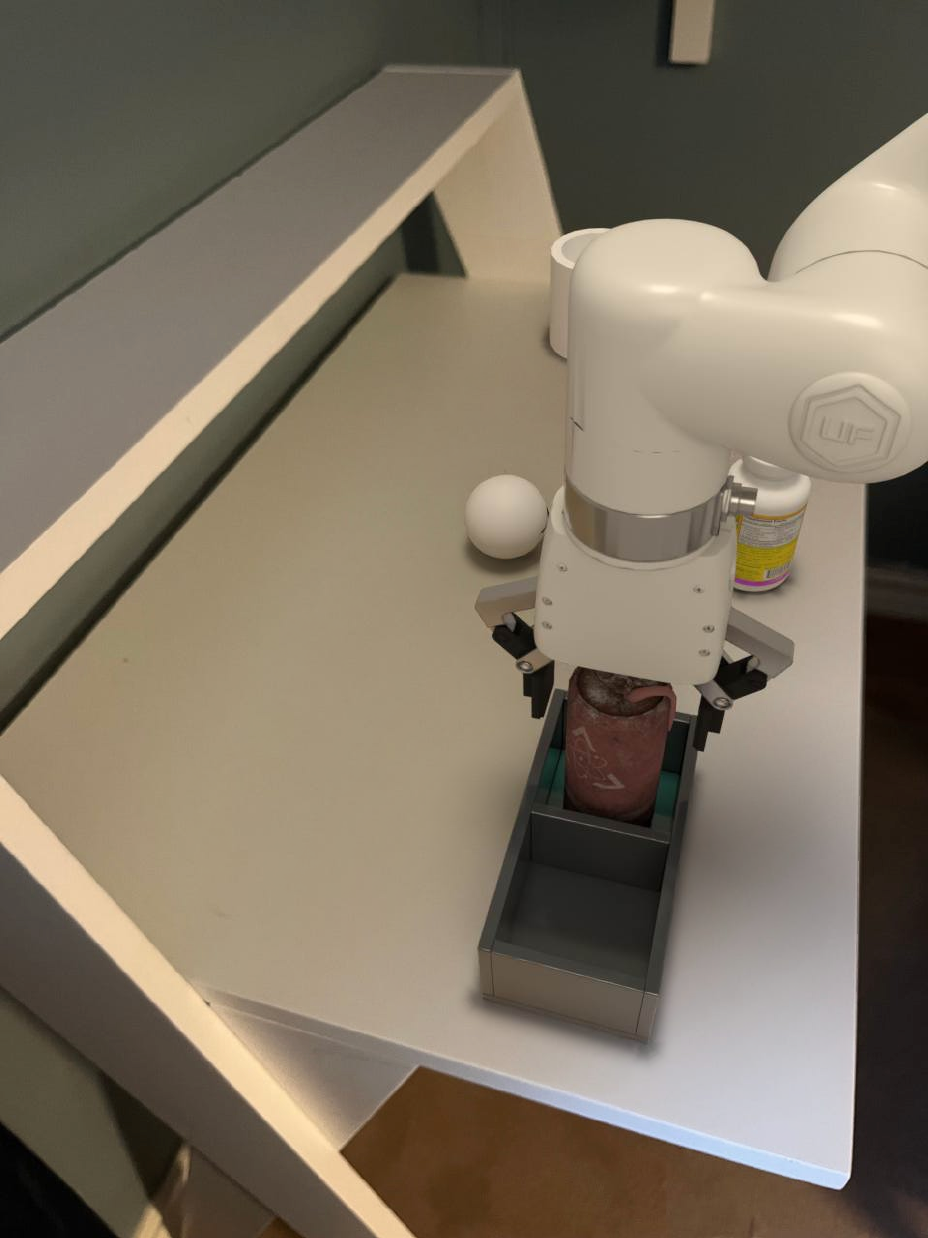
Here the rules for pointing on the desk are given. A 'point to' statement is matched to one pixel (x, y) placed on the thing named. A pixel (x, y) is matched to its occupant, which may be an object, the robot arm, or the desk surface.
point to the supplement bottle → (768, 523)
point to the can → (615, 744)
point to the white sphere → (506, 516)
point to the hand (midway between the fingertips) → (620, 716)
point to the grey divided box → (587, 895)
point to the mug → (565, 282)
